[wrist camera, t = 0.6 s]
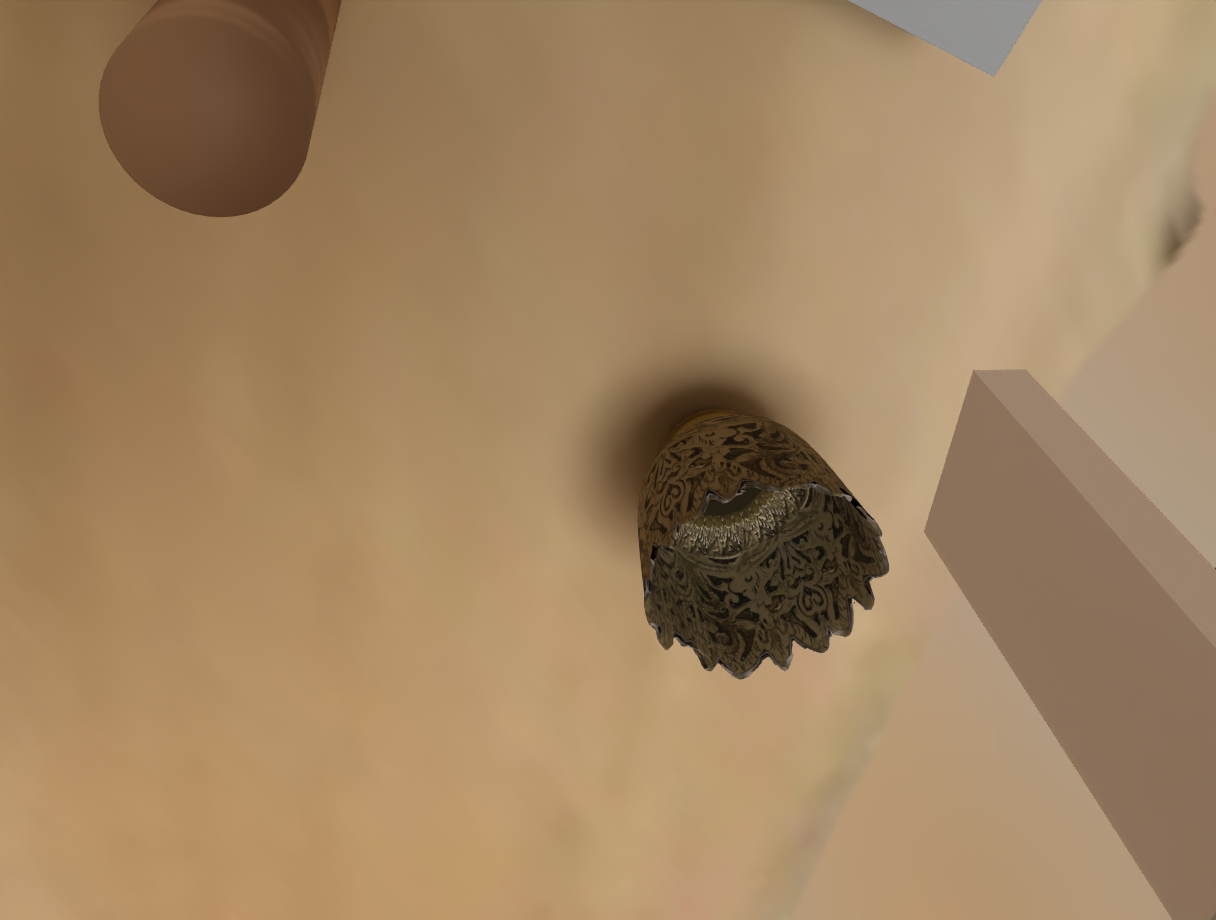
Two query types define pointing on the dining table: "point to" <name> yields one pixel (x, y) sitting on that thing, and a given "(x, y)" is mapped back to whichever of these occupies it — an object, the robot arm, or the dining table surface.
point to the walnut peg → (218, 99)
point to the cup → (751, 543)
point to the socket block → (961, 25)
